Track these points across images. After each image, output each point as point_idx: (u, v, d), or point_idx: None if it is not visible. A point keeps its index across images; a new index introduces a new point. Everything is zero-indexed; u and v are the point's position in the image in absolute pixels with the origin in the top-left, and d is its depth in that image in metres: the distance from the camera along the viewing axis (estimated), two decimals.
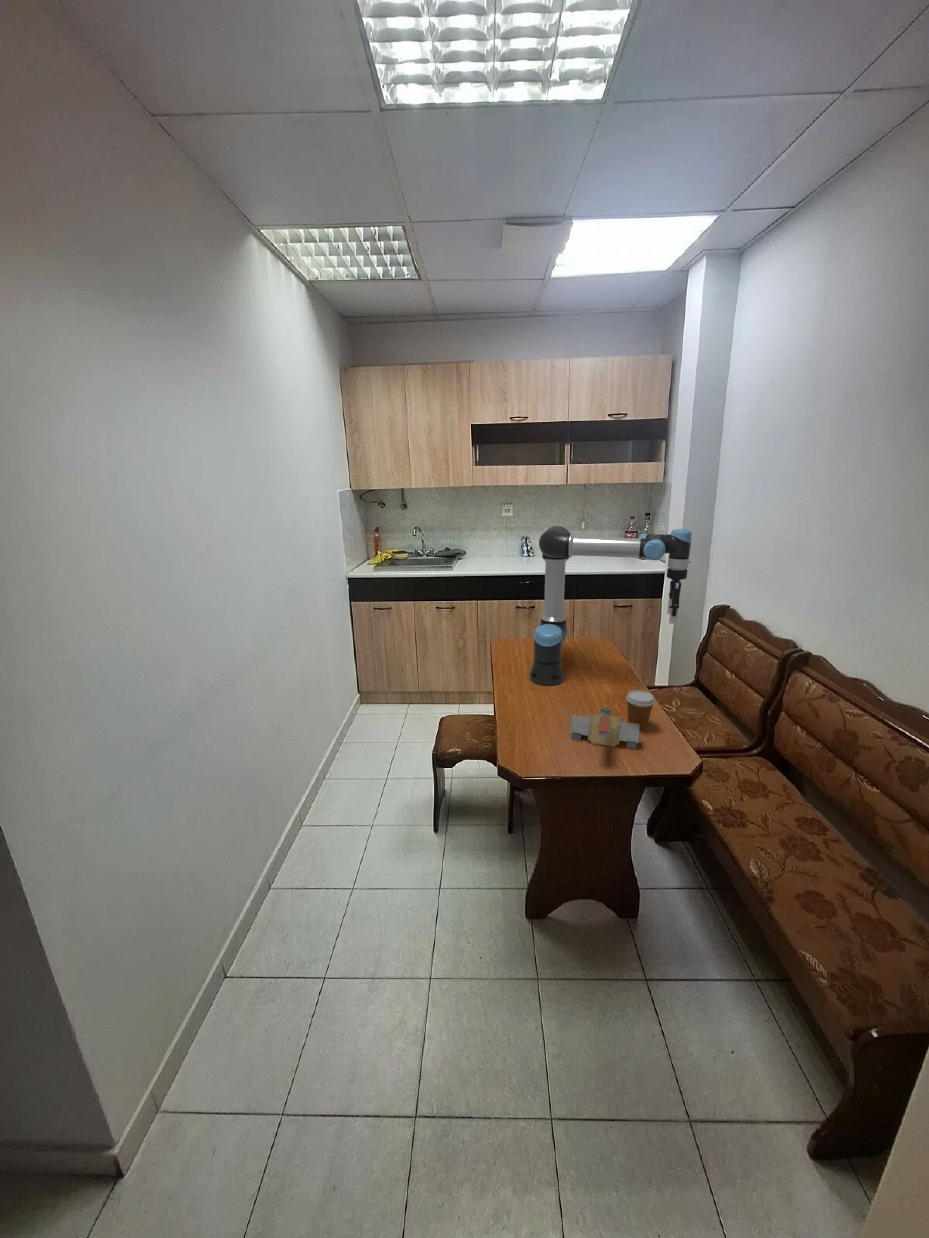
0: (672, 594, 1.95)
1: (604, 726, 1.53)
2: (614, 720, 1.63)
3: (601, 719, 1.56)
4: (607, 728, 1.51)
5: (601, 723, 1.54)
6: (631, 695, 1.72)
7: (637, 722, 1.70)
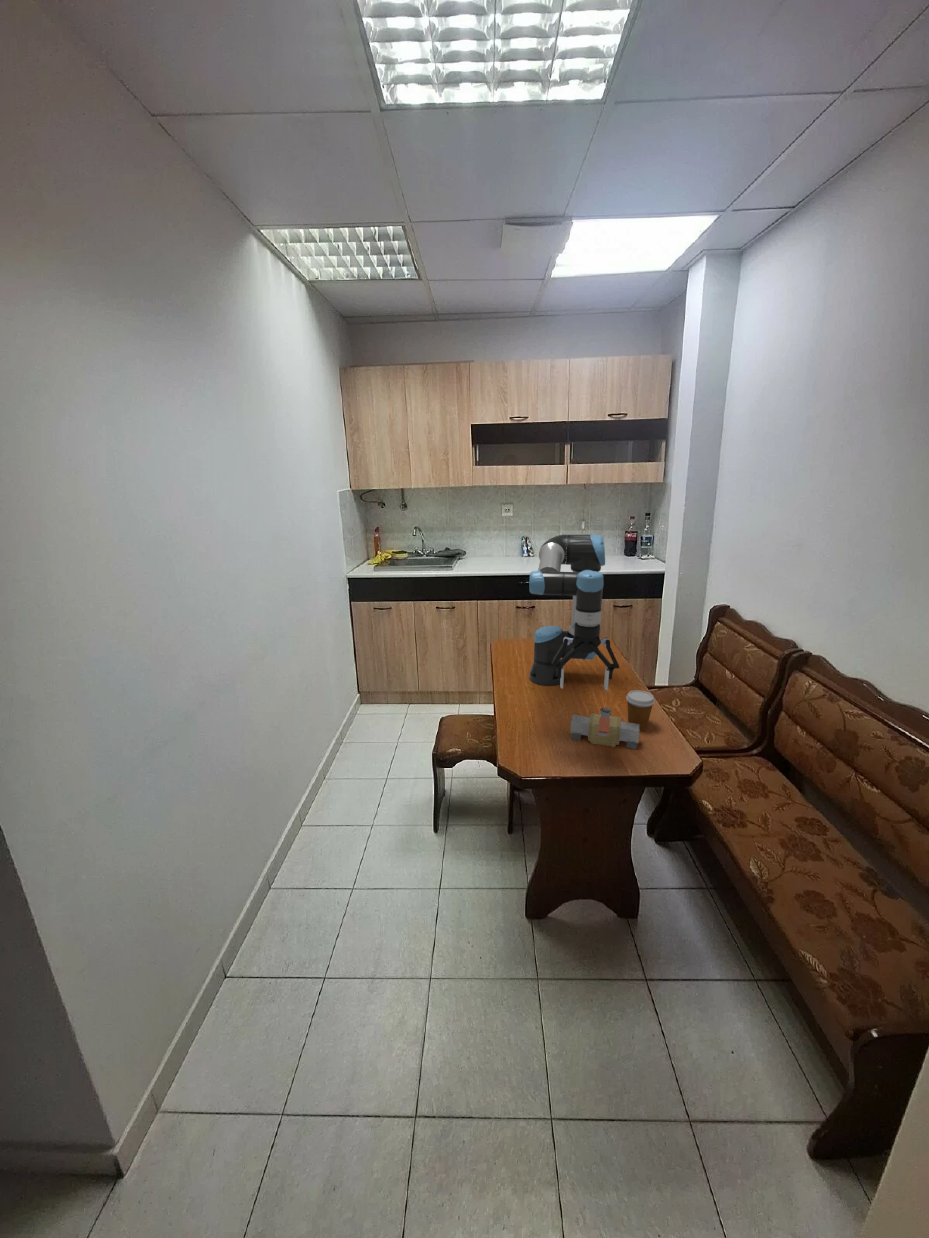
0: (569, 651, 1.51)
1: (604, 726, 1.53)
2: (614, 720, 1.63)
3: (601, 719, 1.56)
4: (607, 728, 1.51)
5: (601, 723, 1.54)
6: (631, 695, 1.72)
7: (637, 722, 1.70)
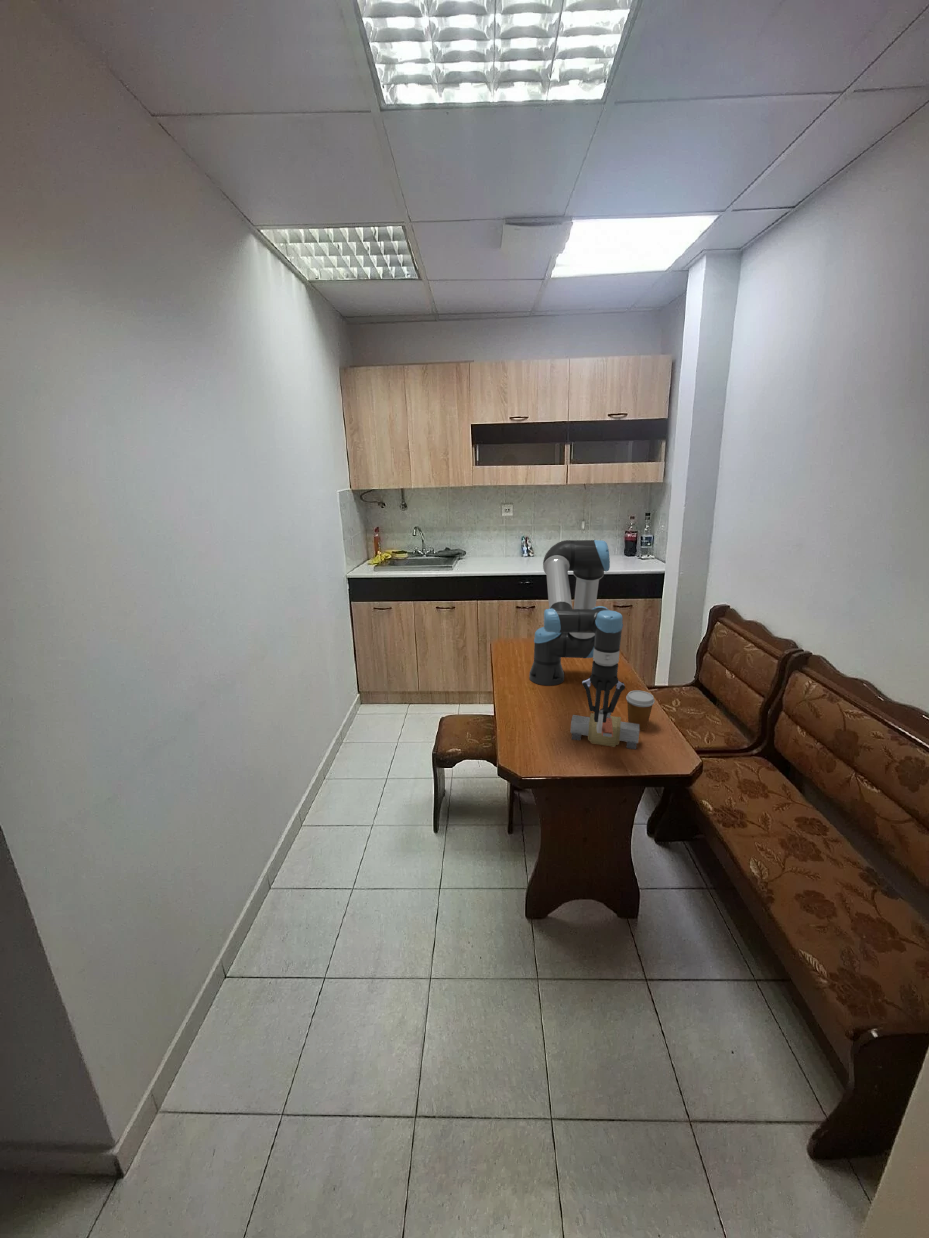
0: None
1: (607, 726, 1.52)
2: (614, 720, 1.63)
3: None
4: (611, 728, 1.51)
5: (603, 724, 1.54)
6: (631, 695, 1.72)
7: (637, 722, 1.70)
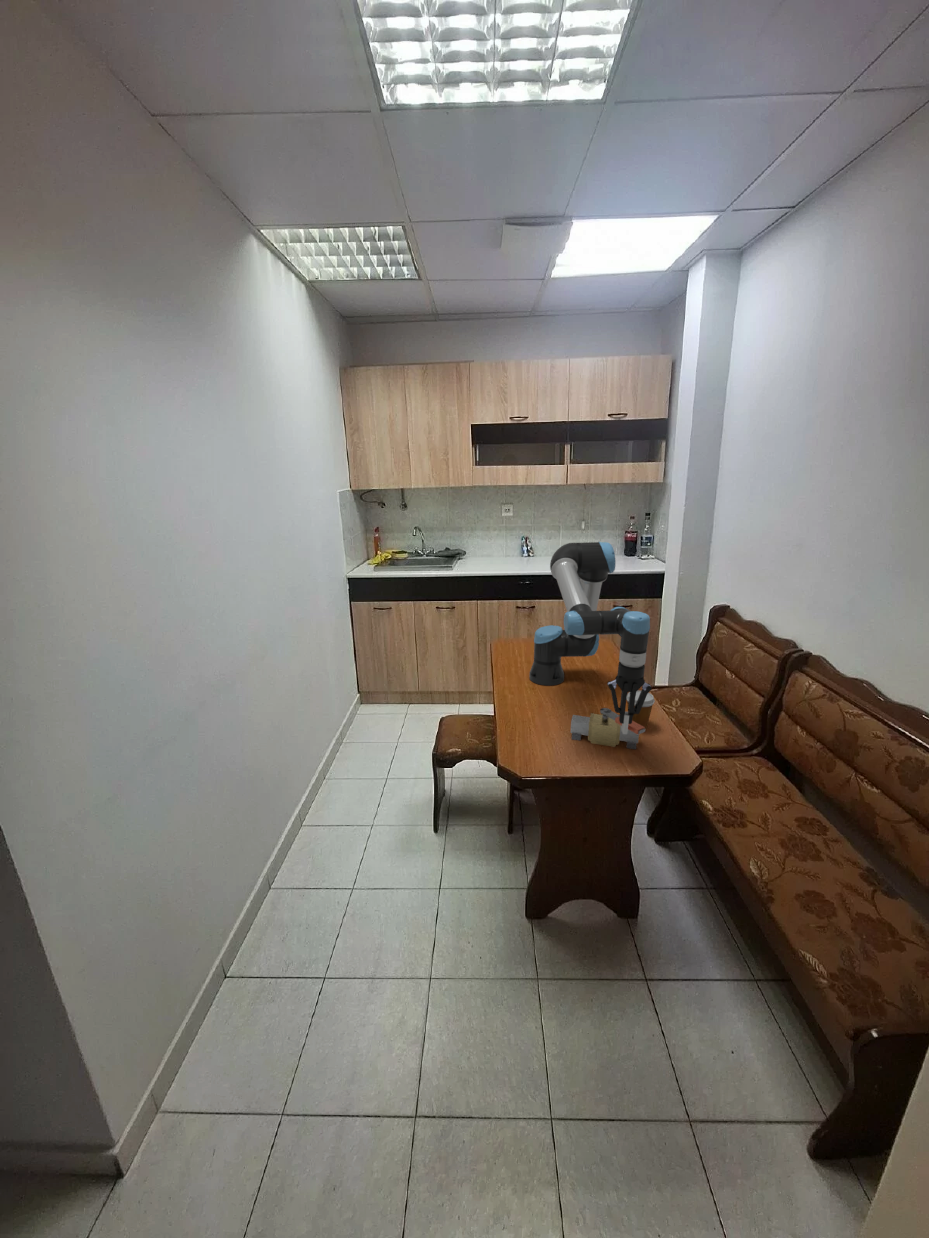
0: (621, 694, 1.51)
1: (632, 723, 1.54)
2: None
3: None
4: (637, 724, 1.53)
5: None
6: None
7: (637, 722, 1.70)
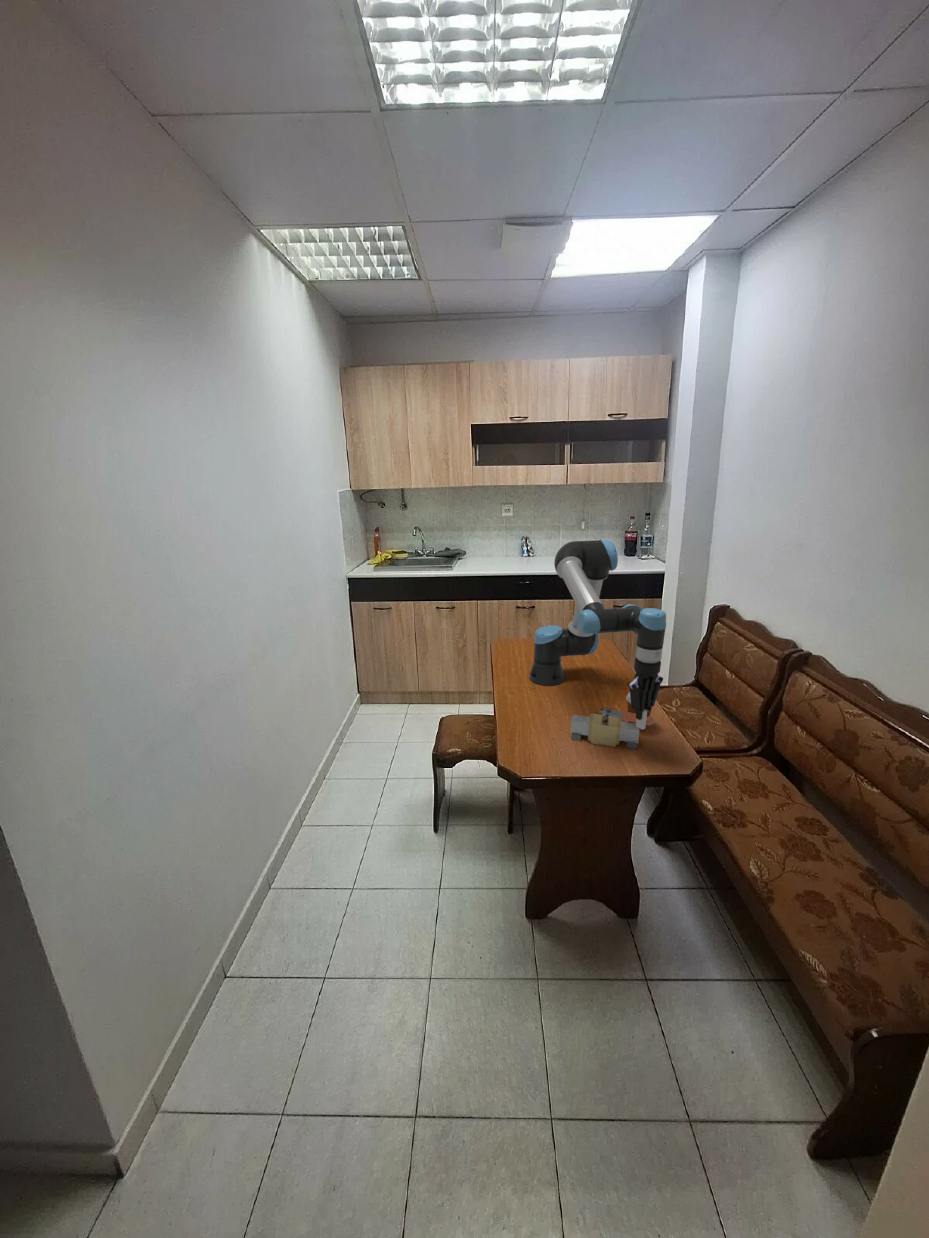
0: None
1: None
2: (614, 720, 1.63)
3: (627, 715, 1.59)
4: None
5: None
6: None
7: None
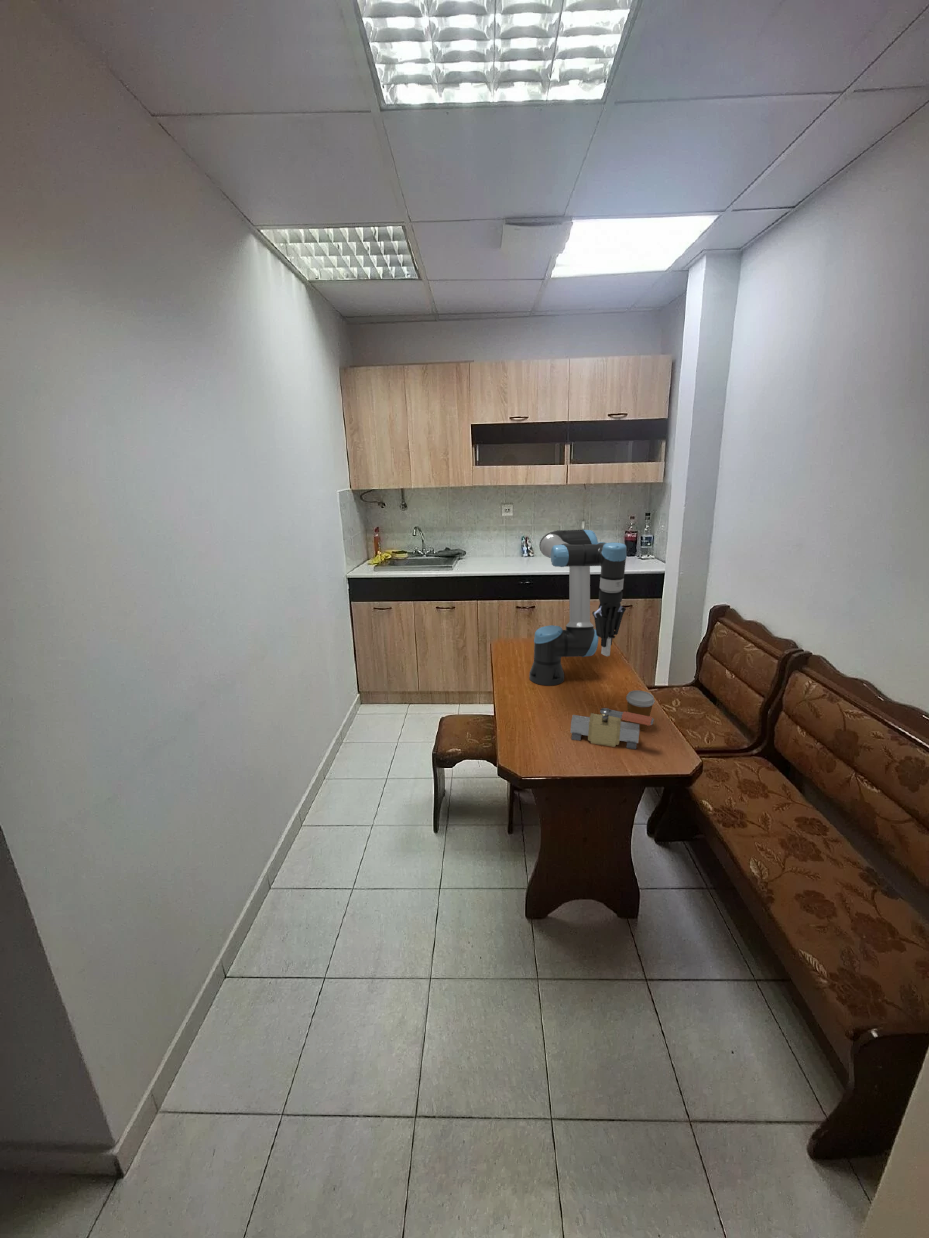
0: (601, 621, 1.66)
1: (640, 716, 1.58)
2: (614, 720, 1.63)
3: (627, 715, 1.59)
4: (644, 716, 1.58)
5: (636, 717, 1.57)
6: (632, 695, 1.72)
7: None
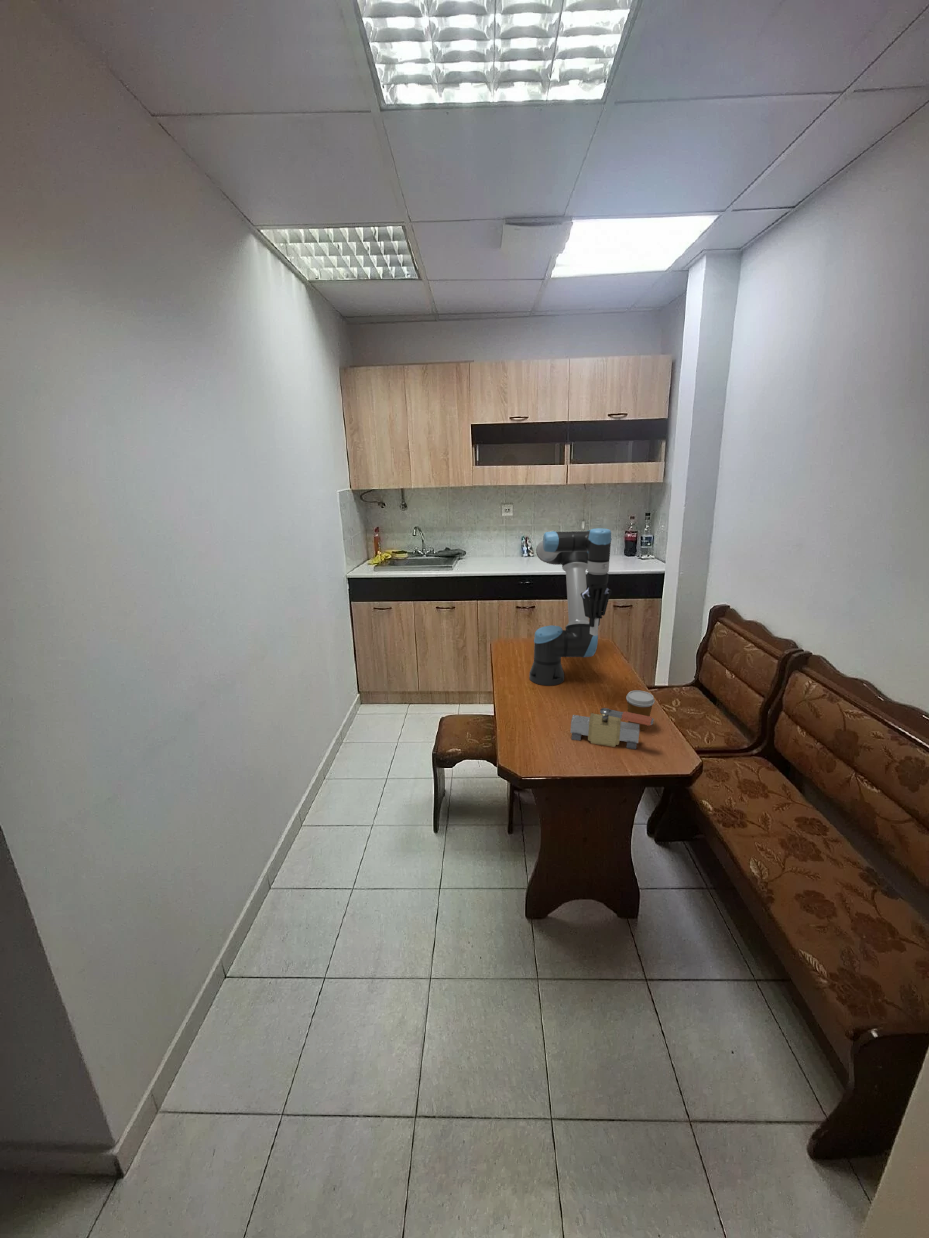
0: (589, 602, 1.77)
1: (640, 716, 1.58)
2: (614, 720, 1.63)
3: (627, 715, 1.59)
4: (644, 716, 1.58)
5: (636, 717, 1.57)
6: (631, 695, 1.72)
7: None
